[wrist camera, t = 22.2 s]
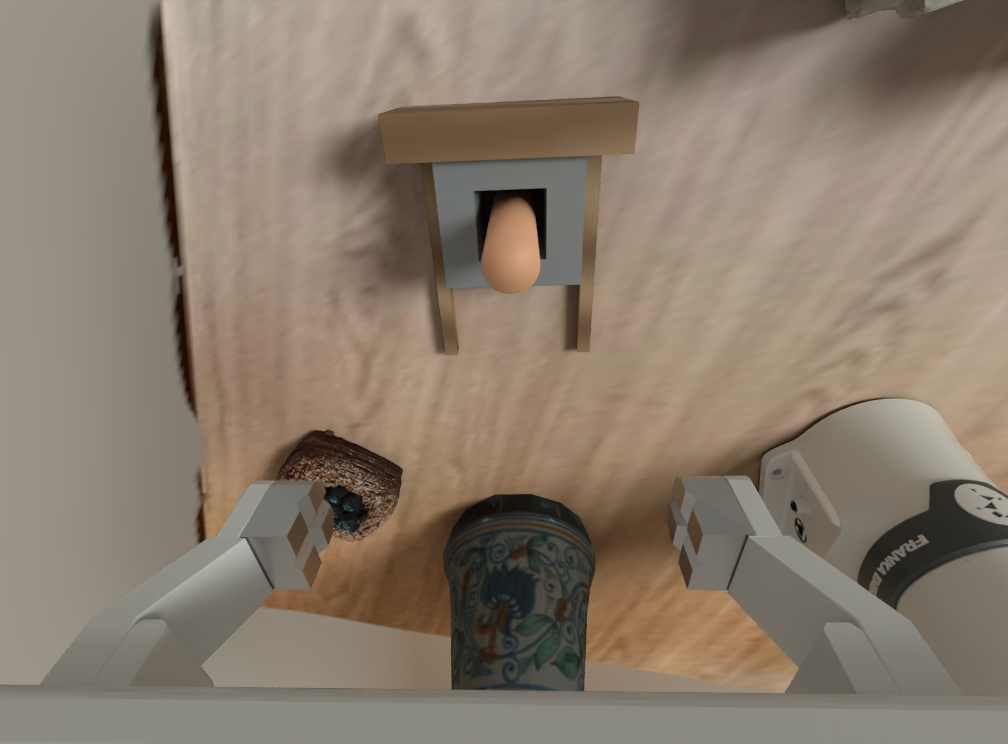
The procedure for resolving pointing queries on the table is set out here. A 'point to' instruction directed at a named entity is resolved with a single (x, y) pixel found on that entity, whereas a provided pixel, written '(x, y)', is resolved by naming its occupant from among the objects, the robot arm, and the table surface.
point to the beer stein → (519, 595)
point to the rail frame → (512, 136)
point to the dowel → (511, 243)
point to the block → (468, 178)
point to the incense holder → (894, 7)
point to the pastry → (347, 481)
